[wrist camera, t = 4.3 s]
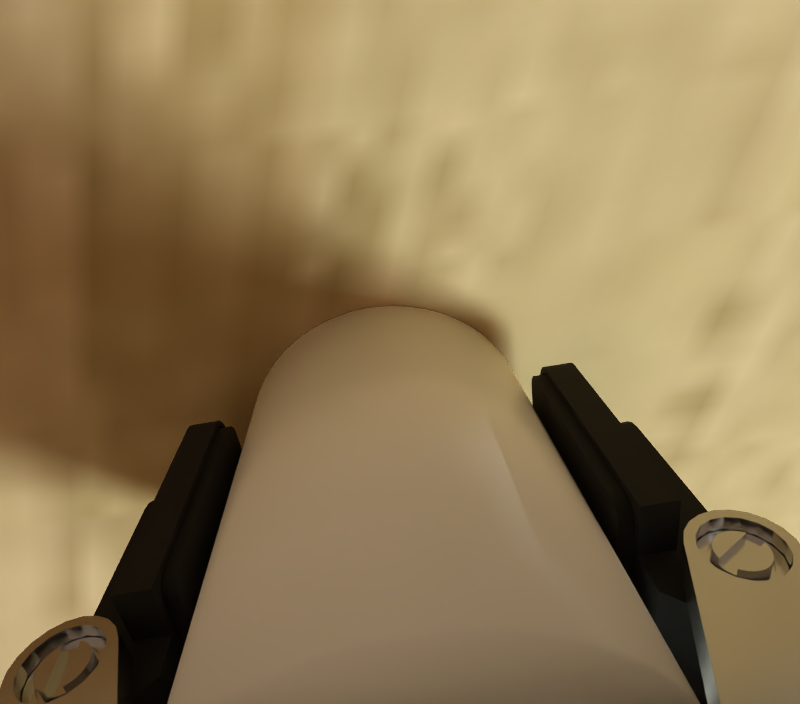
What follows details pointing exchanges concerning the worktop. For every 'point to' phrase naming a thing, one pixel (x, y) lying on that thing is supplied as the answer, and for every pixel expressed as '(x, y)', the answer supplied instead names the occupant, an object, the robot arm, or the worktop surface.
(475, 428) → the cylinder
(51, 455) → the worktop surface
